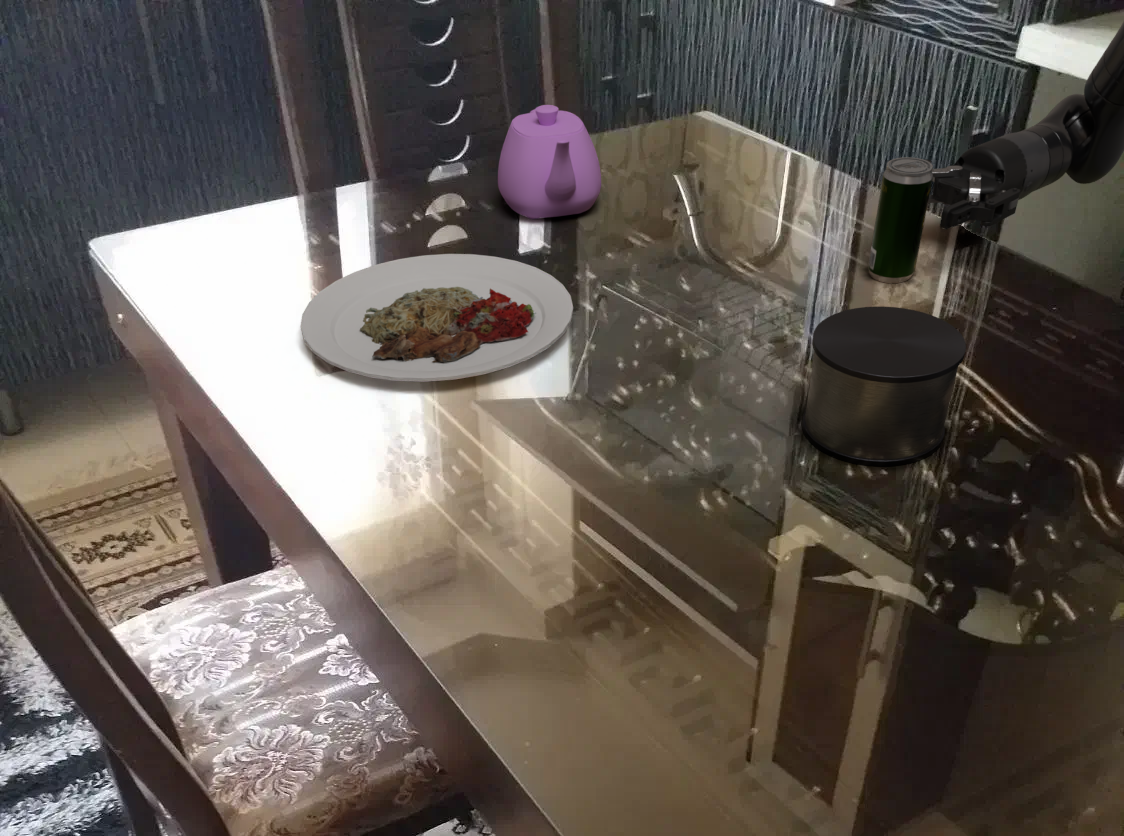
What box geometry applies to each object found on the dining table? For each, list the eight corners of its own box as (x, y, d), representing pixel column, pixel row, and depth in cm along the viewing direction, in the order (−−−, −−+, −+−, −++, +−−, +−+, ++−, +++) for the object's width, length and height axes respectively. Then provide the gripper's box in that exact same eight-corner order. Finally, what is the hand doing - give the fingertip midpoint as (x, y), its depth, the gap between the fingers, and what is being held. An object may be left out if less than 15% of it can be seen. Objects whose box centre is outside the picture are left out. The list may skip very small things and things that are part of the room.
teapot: (488, 186, 156) (481, 91, 148) (583, 175, 158) (582, 80, 150) (517, 244, 143) (511, 143, 134) (620, 232, 144) (621, 131, 136)
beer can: (877, 286, 132) (896, 176, 123) (859, 267, 136) (876, 159, 127) (921, 281, 132) (943, 171, 124) (902, 262, 136) (922, 154, 128)
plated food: (277, 299, 134) (271, 270, 132) (517, 251, 141) (516, 223, 139) (341, 420, 114) (336, 389, 112) (616, 358, 122) (616, 327, 119)
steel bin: (928, 391, 115) (947, 304, 109) (959, 466, 106) (982, 375, 99) (792, 394, 116) (803, 307, 109) (811, 468, 106) (824, 378, 100)
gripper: (958, 123, 138) (869, 157, 131) (1061, 154, 130) (972, 191, 123) (945, 188, 143) (859, 224, 136) (1043, 222, 135) (957, 261, 129)
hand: (913, 208), depth 130 cm, fingers open, 8 cm apart
